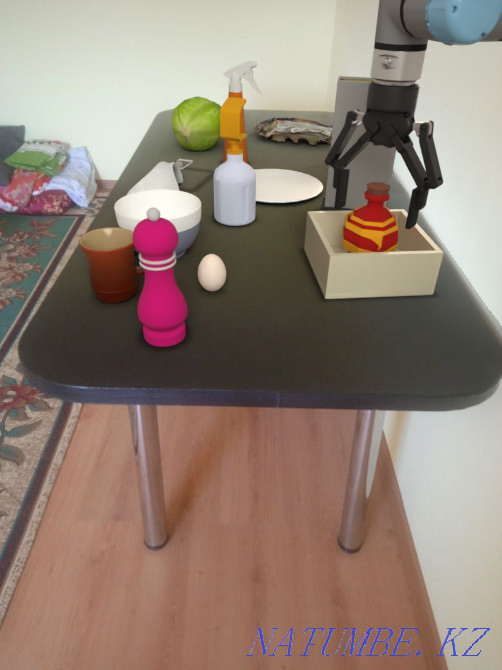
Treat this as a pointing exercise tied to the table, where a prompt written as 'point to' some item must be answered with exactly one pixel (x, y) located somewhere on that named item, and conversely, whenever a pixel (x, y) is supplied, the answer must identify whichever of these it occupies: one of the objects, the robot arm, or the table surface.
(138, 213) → the bowl
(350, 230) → the potion bottle
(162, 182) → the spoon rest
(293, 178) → the plate
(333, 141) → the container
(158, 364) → the table surface
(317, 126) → the grey piece
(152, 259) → the pepper mill
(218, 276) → the egg
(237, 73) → the spray bottle
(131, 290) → the mug
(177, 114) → the lettuce
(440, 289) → the table surface
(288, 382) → the table surface
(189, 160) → the binder clip
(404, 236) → the cream open box
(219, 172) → the white cleaner bottle
